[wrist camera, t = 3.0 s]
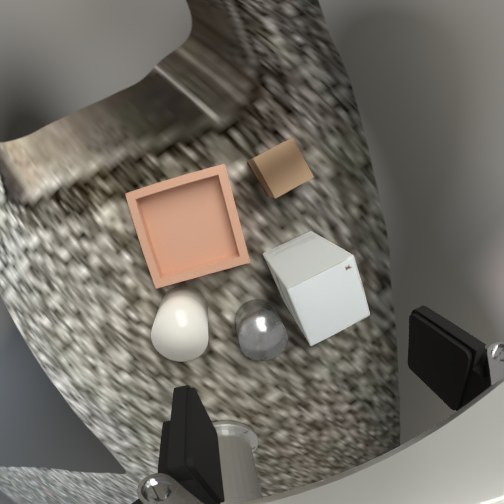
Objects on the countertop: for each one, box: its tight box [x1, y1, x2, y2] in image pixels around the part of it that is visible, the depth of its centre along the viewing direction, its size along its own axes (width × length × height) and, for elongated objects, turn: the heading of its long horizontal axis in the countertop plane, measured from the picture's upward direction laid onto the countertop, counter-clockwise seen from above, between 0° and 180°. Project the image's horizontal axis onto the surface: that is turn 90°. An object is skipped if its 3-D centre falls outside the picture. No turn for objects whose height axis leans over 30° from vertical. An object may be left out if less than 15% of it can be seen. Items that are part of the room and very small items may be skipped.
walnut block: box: [247, 138, 313, 199], centre depth 33 cm, size 5×5×5 cm
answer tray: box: [126, 164, 250, 288], centre depth 35 cm, size 12×12×2 cm
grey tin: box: [235, 299, 288, 361], centre depth 37 cm, size 6×6×6 cm
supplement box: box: [263, 231, 370, 346], centre depth 33 cm, size 7×7×13 cm
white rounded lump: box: [151, 286, 208, 362], centre depth 35 cm, size 6×6×8 cm
